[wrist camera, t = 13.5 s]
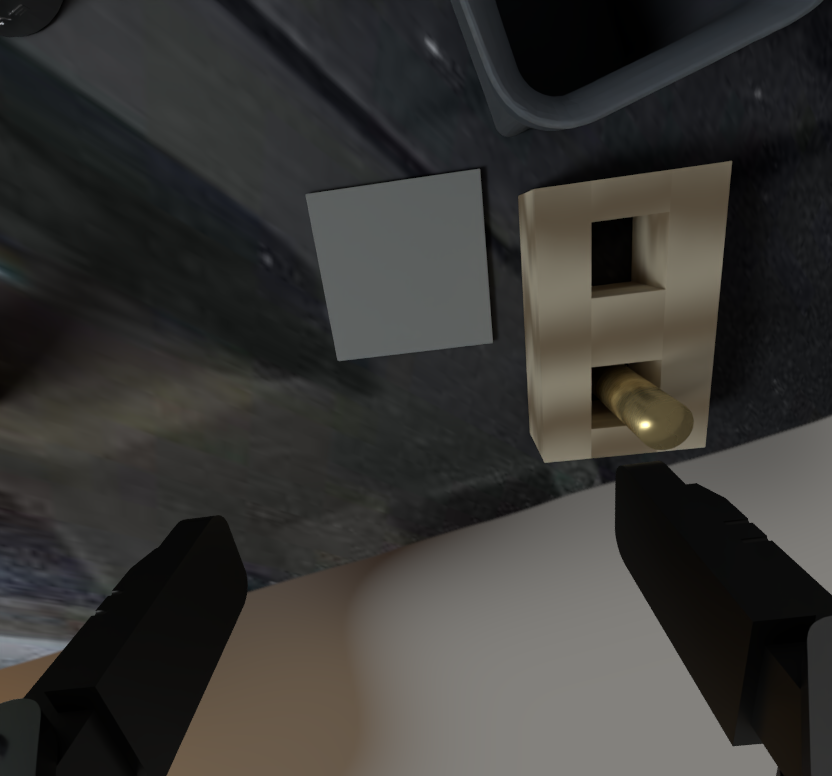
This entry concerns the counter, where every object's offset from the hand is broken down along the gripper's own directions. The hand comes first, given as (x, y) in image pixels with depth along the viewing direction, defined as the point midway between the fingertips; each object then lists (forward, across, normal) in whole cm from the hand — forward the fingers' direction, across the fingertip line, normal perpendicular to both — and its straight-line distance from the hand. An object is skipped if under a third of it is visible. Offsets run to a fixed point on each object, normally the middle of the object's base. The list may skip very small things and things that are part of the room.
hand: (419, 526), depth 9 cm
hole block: (+25, -13, +3) cm, 29 cm away
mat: (+26, +1, -2) cm, 26 cm away
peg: (+25, -13, +8) cm, 29 cm away
